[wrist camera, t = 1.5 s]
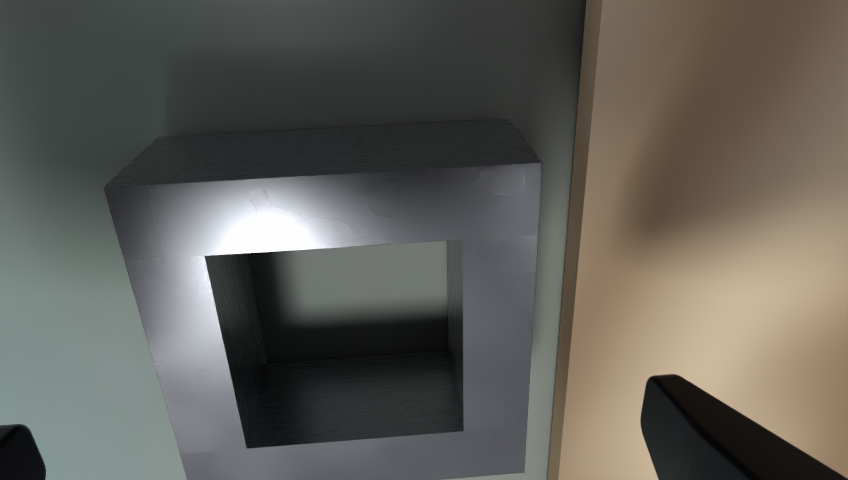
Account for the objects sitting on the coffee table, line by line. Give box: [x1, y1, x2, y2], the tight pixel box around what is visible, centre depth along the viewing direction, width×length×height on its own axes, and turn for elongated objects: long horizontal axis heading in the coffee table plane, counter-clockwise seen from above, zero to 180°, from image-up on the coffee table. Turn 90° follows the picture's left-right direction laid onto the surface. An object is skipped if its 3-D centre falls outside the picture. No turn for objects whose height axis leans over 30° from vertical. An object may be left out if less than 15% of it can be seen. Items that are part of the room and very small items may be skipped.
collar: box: [104, 119, 542, 480], centre depth 11 cm, size 6×6×2 cm
